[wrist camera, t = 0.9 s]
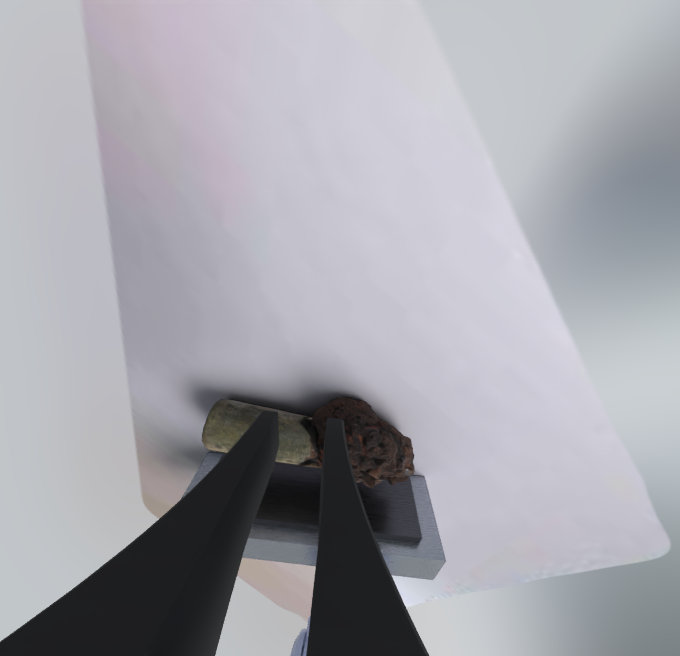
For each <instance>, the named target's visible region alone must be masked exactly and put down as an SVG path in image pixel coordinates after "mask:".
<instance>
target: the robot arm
mask: <svg viewBox="0 0 680 656" xmlns="http://www.w3.org/2000/svg"><path fill="white" fill-rule="evenodd" d="M278 448H279V422H278V412H274V411H265V410H263V411H262V412H261V413H260V414H259V416H258V417H257V418H256V419H255V421H254V422H253V423H252V424H251V426H250V427H249V428H248V429H247V431H246V432H245V433H244V434H243V435H242V436H241V438H240V439H239V440H238V441H237V442H236V443H235V445H234V446H233V447H232V448H231V449H230V450H229V451H228V452H227V454H226V455H225V456H224V457H223V458H222V459H221V460H220V461H219V462H218V463H217V464H216V465H215V466H214V467H213V468H212V469H211V471H210V472H209V473H208V474H207V475H206V476H205V477H204V478H203V479H202V480H201V481H200V482H199V483H198V484H197V485H196V486H195V487H194V488H193V489H192V490H191V491H190V492H188V493H187V494H186V495H185V496H184V497H183V498H182V499H181V500H180V501H179V502H178V503H177V504H176V505H175V506H173V507H172V508H171V509H170V510H169V511H168V512H167V513H166V514H165V515H163V516H162V517H161V518H160V519H159V520H158V521H156V522H155V523H154V524H153V525H152V526H151V527H150V528H148V529H147V530H146V531H145V532H144V533H143V534H141V535H140V536H139V537H138V538H137V539H135V540H134V541H133V542H132V543H131V544H129V545H128V546H127V547H126V548H125V549H123V550H122V551H121V552H119V553H118V554H117V555H116V556H114V557H113V558H112V559H110V560H109V561H108V562H107V563H105V564H104V565H103V566H102V567H100V568H99V569H98V570H97V571H95V572H94V573H93V574H91V575H90V576H89V577H88V578H87V579H85V580H84V581H83V582H81V583H80V584H79V585H77V586H76V587H75V588H73V589H72V590H71V591H69V592H68V593H67V594H66V595H64V596H63V597H61V598H60V599H59V600H57V601H56V602H54V603H53V604H52V605H50V606H49V607H48V608H46V609H45V610H43V611H42V612H41V613H39V614H38V615H36V616H35V617H34V618H32V619H31V620H30V621H28V622H27V623H25V624H24V625H23V626H21V627H20V628H19V629H17V630H16V631H15V632H14V633H12V634H10V635H9V636H8V637H6V638H5V639H3V640H2V641H1V642H0V656H215V654H216V650H217V646H218V642H219V639H220V635H221V631H222V627H223V623H224V619H225V616H226V613H227V609H228V605H229V602H230V598H231V594H232V591H233V587H234V583H235V580H236V577H237V573H238V570H239V566H240V563H241V559H242V556H243V552H244V549H245V546H246V543H247V540H248V537H249V534H250V531H251V528H252V526H253V523H254V520H255V517H256V515H257V512H258V509H259V506H260V504H261V501H262V498H263V496H264V493H265V490H266V487H267V485H268V482H269V479H270V476H271V474H272V471H273V467H274V463H275V460H276V456H277V452H278ZM291 656H429V654H428V652H427V650H426V648H425V646H424V644H423V643H422V640H421V638H420V636H419V634H418V632H417V630H416V628H415V626H414V624H413V622H412V620H411V618H410V616H409V613H408V611H407V609H406V607H405V605H404V603H403V601H402V598H401V596H400V594H399V592H398V589H397V587H396V585H395V583H394V580H393V578H392V576H391V574H390V571H389V569H388V567H387V565H386V562H385V560H384V558H383V555H382V553H381V550H380V548H379V545H378V543H377V540H376V538H375V535H374V533H373V530H372V527H371V525H370V522H369V519H368V517H367V514H366V511H365V508H364V505H363V502H362V499H361V496H360V493H359V490H358V486H357V483H356V480H355V476H354V472H353V468H352V465H351V461H350V457H349V452H348V447H347V442H346V436H345V427H344V421H343V420H342V419H337V418H328V417H327V423H326V430H325V439H324V450H323V460H322V471H321V489H320V511H319V534H318V551H317V562H316V571H315V580H314V589H313V598H312V607H311V616H310V617H309V618H308V627H307V629H305V628H304V629H302V630H301V632H300V634H299V635H298V637H297V638H296V640H295V642H294V644H293V648H292V652H291Z"/></svg>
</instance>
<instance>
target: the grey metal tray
mask: <svg viewBox="0 0 680 656" xmlns="http://www.w3.org/2000/svg"><path fill="white" fill-rule="evenodd" d="M226 454H227V453H224V452H223V454H220V453H211V452H209V453H208V454H207V456H206V458H205V460H204V461H203V463H202V465H201V466H200V468H199V470H198V471H197V473H196V475H195V476H194V478H193V480H192V481H191V483H190V485H189V487H188V488H187V490H186V492H185V493H184V495H183V497H184V496H185V495H186V494H187V493H188V492H190V491H191V490H192V489H193V488H194V487H195V486H196V485H197V484H198V483H199V482H200V481H201V480H202V479H203V478H204V477H205V476H206V475H207V474H208V473H209V472H210V471H211V469H212V468H213V467H214V466H215V465H216V464H217V463H218V462H219V461H220V460H221V459H222V458H223V457H224V456H225V455H226ZM321 471H322V468H315V467H306V466H302V465H296V464H289V463H282V462H277V461H275V463H274V467H273V471H272V474H271V476H270V479H269V482H268V485H267V487H266V490H265V493H264V496H263V498H262V501H261V504H260V506H259V509H258V512H257V515H256V517H255V520H254V523H253V526H252V528H251V531H250V534H249V537H248V540H247V543H246V546H245V549H244V552H243V556H242V558H251V559H259V560H268V561H276V562H285V563H293V564H302V565H310V566H316V562H317V551H318V534H319V511H320V489H321ZM356 483H357V482H356ZM357 486H358V490H359V493H360V496H361V499H362V502H363V505H364V508H365V511H366V514H367V517H368V519H369V522H370V525H371V527H372V530H373V533H374V535H375V538H376V540H377V543H378V545H379V548H380V550H381V553H382V555H383V558H384V560H385V562H386V565H387V567H388V569H389V571H390V574H391V575H395V576H403V577H412V578H420V579H429V580H433V579H434V578H435V576H436V575H437V574H438V572H439V571H440V569H441V568H442V566H443V565H444V563H445V562H446V559H445V555H444V551H443V547H442V543H441V539H440V536H439V532H438V528H437V524H436V520H435V516H434V512H433V508H432V504H431V500H430V496H429V492H428V488H427V484H426V480H425V477H422V476H413V475H411V476H408V480H407V481H404V482H397V483H396V484H395V485H391V484H390V483H389V482H388V481H387V480H386V479H385V480H383V481H381V482H380V483H378V484H376V485H375V486H374V488H371V487H368V486H366V485H365V484H364V483H363V484H362V483H361V482H358V483H357ZM183 497H182V498H183ZM182 498H181V499H182Z"/></svg>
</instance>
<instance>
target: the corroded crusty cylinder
mask: <svg viewBox="0 0 680 656" xmlns="http://www.w3.org/2000/svg"><path fill="white" fill-rule="evenodd" d="M263 410H265V411H274V412H278V422H279V448H278V452H277V456H276V460H275V461H277V462H282V463H289V464H296V465H302V466H306V467H315V468H322V460H323V450H324V439H325V430H326V423H327V417H328V418H337V419H342V420H343V421H344V427H345V436H346V442H347V447H348V452H349V457H350V461H351V465H352V468H353V472H354V476H355V480H356V482H357V483H358V482H361V483H362V484H363V483H364V484H365V485H366V486H368V487H371V488H374V486H375V485H376V484H378V483H380V482H381V481H383V480H385V479H386V480H387V481H388V482H389V483H390V484H391V485H395V484H396V483H397V482H404V481H407V480H408V476H411V475H412V474H414V472H415V471H414V465H413V459H414V454H413V448H412V444H411V439H410V438H408V437H406V436H403V435H402V434H401V433H400V432H399V431H398V430H397V429H396V428H394V427H393V426H391V425H390V424H388V423H387V422H385V421H382V420H381V419H379V418H378V417H377V416H376V414H375V413H374V411H373V410H372V409H371V406H370V405H368V404H367V403H366V402H363V401H361V400H353V399H351V398H348V397H346V398H336V399H334V400H332V401H331V402H329V403H327V404H326V405H324V406H322V407H320V408H319V409H317V410H316V411H315V412H314V413H313V416H312V417H309V416H304V415H299V414H294V413H290V412H286V411H281V410H277V409H272V408H267V407H261V406H257V405H253V404H248V403H243V402H239V401H233V400H228V399H221V400H219V401H218V402H216V403H215V404H214V406H213V407H212V409H211V411H210V413H209V415H208V417H207V419H206V422H205V425H204V428H203V433H202V442H203V444H204V446H205V447H206V448H207V449H209V450H213V451H219V452H224V453H227V452H228V451H229V450H230V449H231V448H232V447H233V446H234V445H235V443H236V442H237V441H238V440H239V439H240V438H241V436H242V435H243V434H244V433H245V432H246V431H247V429H248V428H249V427H250V426H251V424H252V423H253V422H254V421H255V419H256V418H257V417H258V416H259V414H260V413H261V412H262V411H263Z"/></svg>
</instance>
